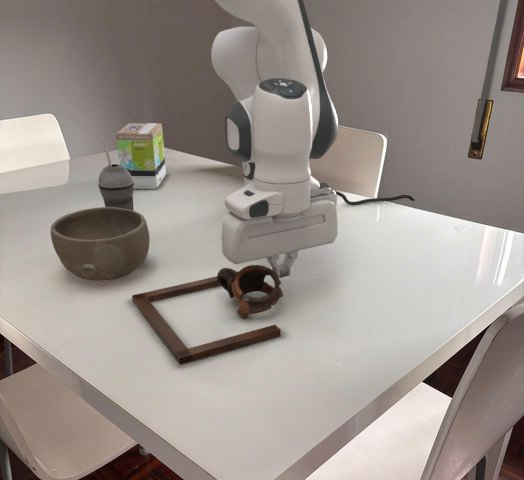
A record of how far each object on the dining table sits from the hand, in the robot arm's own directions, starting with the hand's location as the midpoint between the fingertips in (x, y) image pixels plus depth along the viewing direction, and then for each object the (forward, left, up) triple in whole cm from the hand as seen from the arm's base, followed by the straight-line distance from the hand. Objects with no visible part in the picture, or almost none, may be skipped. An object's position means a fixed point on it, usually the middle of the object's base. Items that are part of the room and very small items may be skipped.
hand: (281, 276), depth 95 cm
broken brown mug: (+6, 0, -4) cm, 7 cm away
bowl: (+23, -26, -4) cm, 35 cm away
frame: (+14, 0, -4) cm, 15 cm away
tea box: (-3, -82, -4) cm, 82 cm away
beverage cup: (+15, -42, -4) cm, 45 cm away
